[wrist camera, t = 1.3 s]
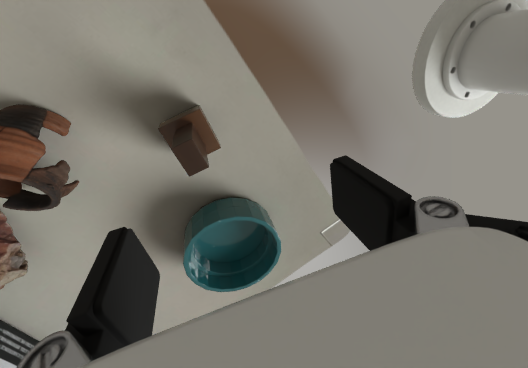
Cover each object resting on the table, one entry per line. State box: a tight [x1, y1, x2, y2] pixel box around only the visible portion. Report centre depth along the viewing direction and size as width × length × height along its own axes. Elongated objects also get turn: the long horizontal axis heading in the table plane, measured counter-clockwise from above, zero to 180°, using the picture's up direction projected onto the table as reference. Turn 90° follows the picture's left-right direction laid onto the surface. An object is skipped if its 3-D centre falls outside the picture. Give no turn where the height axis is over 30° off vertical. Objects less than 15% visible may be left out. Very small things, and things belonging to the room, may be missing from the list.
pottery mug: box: [0, 104, 79, 211], centre depth 23 cm, size 12×10×8 cm
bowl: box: [183, 198, 281, 292], centre depth 36 cm, size 14×14×6 cm
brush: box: [158, 105, 221, 176], centre depth 25 cm, size 5×5×10 cm
